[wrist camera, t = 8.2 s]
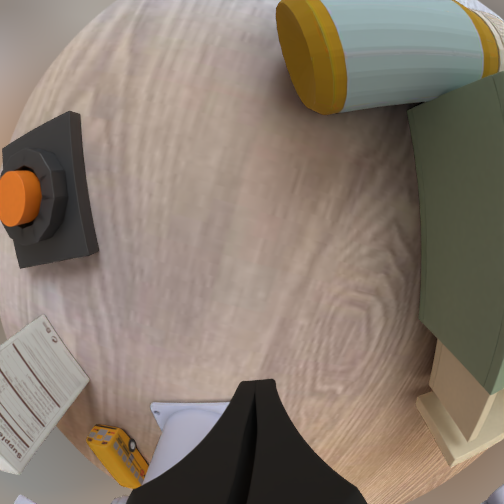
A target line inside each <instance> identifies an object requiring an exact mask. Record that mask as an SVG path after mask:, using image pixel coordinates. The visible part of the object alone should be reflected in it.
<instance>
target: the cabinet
mask: <svg viewBox="0 0 504 504" xmlns="http://www.w3.org/2000/svg"><path fill="white" fill-rule="evenodd" d="M407 115H408V120H409V125H410V131H411V137H412V143H413V149H414V156H415V163H416V171H417V180H418V191H419V203H420V219H421V290H420V306H419V320H420V321H421V322H422V323H423V324H424V325H425V326H426V327H427V328H428V329H429V330H430V331H431V332H432V333H433V334H434V335H435V336H436V337H437V338H438V339H439V340H440V341H441V342H442V343H443V345H444V346H445V347H446V348H447V349H448V350H449V351H450V352H451V353H452V354H453V355H454V356H455V357H456V358H457V359H458V360H459V361H460V362H461V364H462V365H463V366H464V367H465V368H466V369H467V370H468V371H469V372H470V373H471V374H472V376H473V377H474V378H475V379H476V380H477V381H478V382H479V383H480V385H481V386H482V387H484V389H485V390H486V391H487V392H488V393H489V394H490V395H493V394H495V393H496V392H498V391H500V390H502V389H504V71H501V72H498V73H496V74H493V75H490V76H487V77H484V78H482V79H479V80H477V81H474V82H472V83H469V84H467V85H464V86H462V87H460V88H457V89H455V90H452V91H450V92H448V93H445V94H443V95H441V96H439V97H437V98H436V99H433V100H431V101H427V102H425V103H422V104H420V105H418V106H416V107H414V108H412V109H410V110H407Z"/></svg>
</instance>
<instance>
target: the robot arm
mask: <svg viewBox="0 0 504 504" xmlns="http://www.w3.org/2000/svg"><path fill="white" fill-rule="evenodd" d="M150 409H151V411H152V413H153V415H154V417H155V419H156V421H157V423H158V425H159V427H160V429H161V431H162V434H161V436H160V439H159V441H158V444H157V447H156V449H155V452H154V454H153V457H152V460H151V462H150V465H149V467H148V470H147V473H146V475H145V478H144V481H143V483H142V486H140V487H138V488H135V489H133V490H132V492H131V494H130V496H127V495H123V496H122V497H118V498H115V499H114V500H113V501H112V503H111V504H367V502H366V500H365V499H364V497H363V495H362V494H361V493H360V491H359V490H358V488H357V487H356V486H354V485H353V484H351V483H350V482H348V481H347V480H346V479H344V478H343V477H342V476H340V475H339V474H338V473H337V472H335V471H334V470H333V469H332V468H331V467H329V466H328V465H327V464H326V463H325V462H324V461H323V460H322V459H321V458H320V457H319V456H318V455H317V454H316V453H315V452H314V451H313V450H312V448H311V447H310V446H309V445H308V444H307V443H306V441H305V440H304V439H303V437H302V436H301V435H300V433H299V432H298V431H297V429H296V428H295V426H294V424H293V423H292V421H291V420H290V418H289V416H288V414H287V412H286V411H285V409H284V407H283V405H282V402H281V400H280V398H279V395H278V392H277V389H276V382H275V380H273V379H265V380H253V381H242V382H241V383H240V384H239V386H238V388H237V390H236V392H235V394H234V396H233V397H232V399H231V401H230V402H216V403H162V402H153V403H151V405H150ZM157 411H158V412H157ZM13 504H37V503H35V502H33V501H31V500H30V499H28V498H26V497H25V496H23V495H21V494H19V496H18V497H17V499H16V500H15V502H14V503H13ZM481 504H504V484H503V485H502V486H500V487H499V488H498V489H496V490H495V491H494V492H493V493H492V494H491V495H490V496H489V497H488V499H487V500H486V501H484V502H483V503H481Z"/></svg>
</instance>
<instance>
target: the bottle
mask: <svg viewBox="0 0 504 504" xmlns="http://www.w3.org/2000/svg"><path fill="white" fill-rule="evenodd" d="M276 22H277V31H278V36H279V42H280V45H281V49H282V54H283V57H284V59H285V63H286V67H287V70H288V72H289V74H290V77H291V81H292V83H293V85H294V87H295V89H296V92H297V94H298V96H299V97H300V99H301V101H302V103H303V104H304V105H305V106H306V107H307V108H309V109H311V110H313V111H315V112H318V113H320V114H322V115H329V114H334V113H336V114H338V113H343V112H349V111H355V110H361V109H367V108H374V107H381V106H389V105H397V104H406V103H416V102H427V101H431V100H433V99H436V98H437V97H439V96H441V95H443V94H445V93H448V92H450V91H452V90H455V89H457V88H460V87H462V86H464V85H467V84H469V83H472V82H474V81H477V80H479V79H482V78H484V77H487V76H490V75H493V74H496V73H498V72H501V71H504V22H503V21H502V20H501V19H499V18H498V17H496V16H494V15H492V14H489V13H486V12H482V11H478V10H475V9H470V8H466V7H465V6H463V5H462V4H460V3H459V2H457V1H455V0H281V1H280V2H279V3H278V6H277V7H276Z"/></svg>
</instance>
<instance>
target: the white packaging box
mask: <svg viewBox="0 0 504 504" xmlns="http://www.w3.org/2000/svg"><path fill="white" fill-rule="evenodd" d="M89 381H90V380H89V378H88V376H87V375H86V374H85V372H84V371H83V370H82V368H81V367H80V366H79V364H78V363H77V362H76V360H75V359H74V358H73V356H72V355H71V354H70V352H69V351H68V349H67V348H66V346H65V345H64V344H63V342H62V341H61V339H60V338H59V336H58V335H57V333H56V332H55V330H54V329H53V327H52V326H51V324H50V323H49V321H48V320H47V318H46V317H45V316H44V315H41V316H40V317H38V318H37V319H35V320H34V321H32V322H31V323H30V324H28V325H27V326H25V327H24V328H23V329H21V330H20V331H19V332H17V333H16V334H15V335H13V336H12V337H11V338H9V339H8V340H7V341H5V342H4V343H3V344H1V345H0V470H1V471H5V472H9V473H14V474H18V475H21V473H22V472H23V470H24V468H25V467H26V466H27V464H28V463H29V462H30V460H31V458H32V457H33V456H34V454H35V453H36V451H37V450H38V449H39V447H40V446H41V445H42V443H43V442H44V441H45V439H46V438H47V437H48V435H49V434H50V433H51V431H52V430H53V429H54V427H55V426H56V424H57V423H58V422H59V421H60V419H61V418H62V416H63V415H64V414H65V413H66V411H67V410H68V408H69V407H70V406H71V405H72V403H73V402H74V401H75V399H76V398H77V397H78V395H79V394H80V393H81V391H82V390H83V389H84V387H85V386H86V385H87V384H88V382H89Z"/></svg>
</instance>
